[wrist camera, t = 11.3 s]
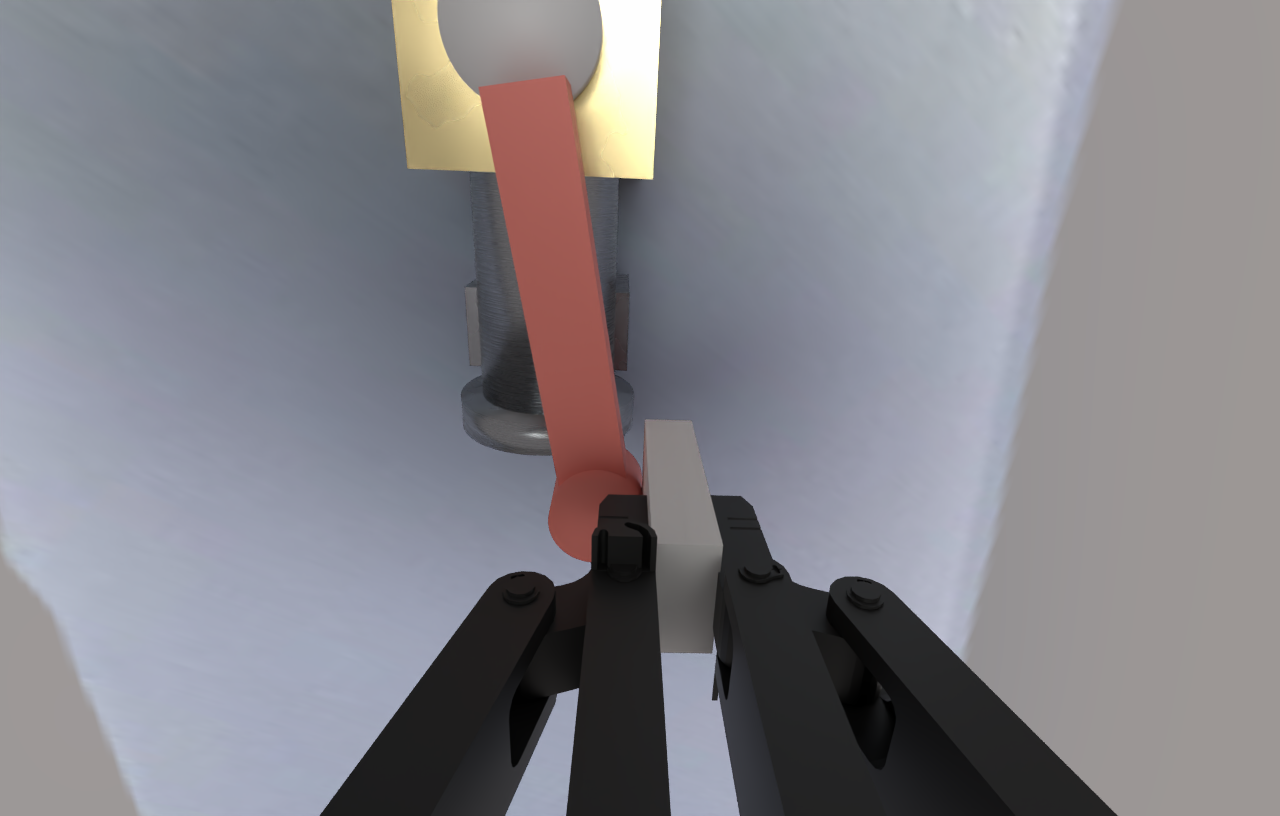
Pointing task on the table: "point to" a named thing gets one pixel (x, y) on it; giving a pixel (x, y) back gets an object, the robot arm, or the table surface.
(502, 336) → the valve pipe
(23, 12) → the table surface
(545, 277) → the lever
